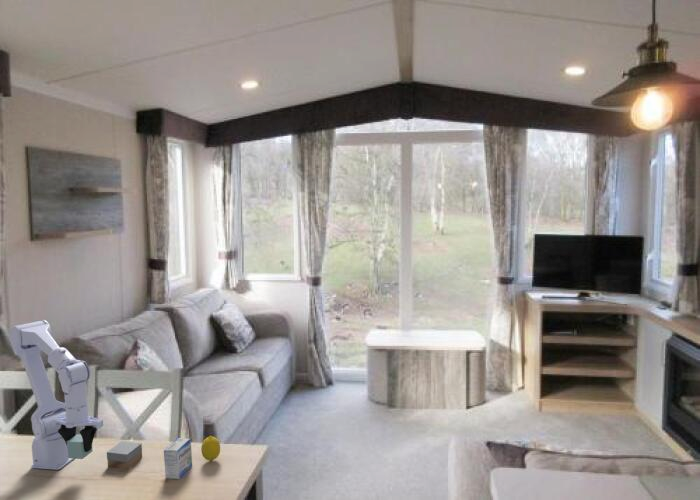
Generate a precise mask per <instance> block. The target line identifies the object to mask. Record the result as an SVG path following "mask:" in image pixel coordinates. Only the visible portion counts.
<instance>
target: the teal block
mask: <svg viewBox="0 0 700 500" xmlns="http://www.w3.org/2000/svg"><path fill="white" fill-rule="evenodd" d="M67 449H68V458H74V459H79V460H83V459H85V458H86V457H88V456H89V455H90V454H92V452H93V447H92V448H91V450H89V451H88V452H85V451H84V444H83V439H82V436H81V434H80V433H76V435H75V436H74V437H73V438H71V439H70V440H68V441H67ZM74 459H73V460H74Z"/></svg>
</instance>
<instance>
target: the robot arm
mask: <svg viewBox="0 0 700 500" xmlns="http://www.w3.org/2000/svg"><path fill="white" fill-rule="evenodd" d="M8 332H9V335H8V338H9V342H10V344H11V348H12V351H13V352H14V355H15V356H19V357H20V358H21V361H22V363H23V366H24V370H25V372H26V375H27V378H28V379H27V380H28V381H29V383H30V387H31V391H32V392H33V396H34V398H35V399H34V400H35V401H36V405H37V408H36V410H35V411H33V412H32V415H31V417H30V422H31V428H32V433H33V435H34V438H33V439H32V440H33V441H32V444H31V452H32V453H31V454H32V465H31V466H30V468H31V469H43V470H56V471H59V470H62V468H64V467H65V466H66V465H68V464H69V463H70V462H72V461H73V460H74V458H68V449H67V441H68V440H70V439H71V438H73V437H74V436H75V435H77V433H76V432H77V427H82V429H80V430H79V434H81V436H82V439H83V444H84V451H85V452H88V451H89V450H91V448H92V449H93V442H94V438H95V435H96V432H97V430H100V429H101V428H103V426H104V419H102V418H97V417H93V416H91V415H89V412H90V411H89V402H88V401H89V399H88V389H87V387H88V386H87V381H88V380H89V379H90V377H91V371H90V367H89V365H88V364H87V361H85V360H80V359H76V357H74V355H73V354H72V353H71V352H70V351H69V350H68V349H67V348H66V347H60V346H59V345H58V343H57V342H56V340H55V339H54V338H53V336H52V329H51V325H50V323H49V322H48V321H47V320H45V319H41V320H38V321H34V322H33V321H32V322H28V323H23V324H19V325H13V326H11V327H10V329H9V331H8ZM41 351H42V352H44V353H45V354H46V355H47V362H48V364H49V365H50V366H51V367H52V368H53V369H54V371H56V372H57V374H58V380H59V383H60V386H61V390H62V392H63V393H64V394H63V395H64V402H61V401H59V400H57V399H56V397H55V396H56V395H55V394H54V391H53V388H52V385H51V382H50V379H49V376H48V373H47V370H46V367H45V364H44V362H43V359H42V356H41Z"/></svg>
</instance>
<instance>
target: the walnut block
mask: <svg viewBox="0 0 700 500" xmlns="http://www.w3.org/2000/svg"><path fill="white" fill-rule="evenodd" d="M142 458H143V450H142V451H141V452H140V453H139V454H138V455H136V456H135V457H134V458H133V459H131V460H130V461H129V462H120V461H111V460H107V468H109V469H110V468H113V469H122V470H123V469H124V470H125V469H126V470H130V469H131V468H132V467H134V466H135V465H136V463H138V462H139V461H140V460H141V459H142Z"/></svg>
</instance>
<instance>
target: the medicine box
mask: <svg viewBox="0 0 700 500" xmlns="http://www.w3.org/2000/svg"><path fill="white" fill-rule="evenodd" d="M192 454H193V453H192V440H191V439H190V438H185V437H178V438H176V439H175V440H174V441H173V442H172V443H171V444H169V445H168V446H167V447H166V448H165V449H164V450H163V460H164V473H165V475H164V477H165V479H173V480H180V479H181V478H182V477H183V476H184V474H185V473H186V472H188V470H189V469H191V467H192V466H193V456H192Z"/></svg>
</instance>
